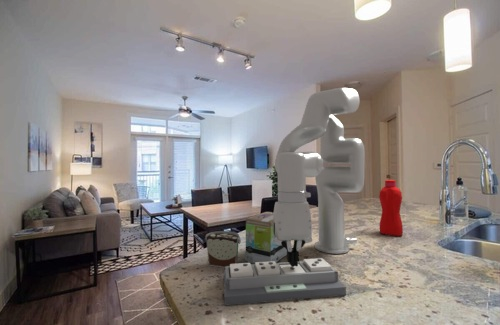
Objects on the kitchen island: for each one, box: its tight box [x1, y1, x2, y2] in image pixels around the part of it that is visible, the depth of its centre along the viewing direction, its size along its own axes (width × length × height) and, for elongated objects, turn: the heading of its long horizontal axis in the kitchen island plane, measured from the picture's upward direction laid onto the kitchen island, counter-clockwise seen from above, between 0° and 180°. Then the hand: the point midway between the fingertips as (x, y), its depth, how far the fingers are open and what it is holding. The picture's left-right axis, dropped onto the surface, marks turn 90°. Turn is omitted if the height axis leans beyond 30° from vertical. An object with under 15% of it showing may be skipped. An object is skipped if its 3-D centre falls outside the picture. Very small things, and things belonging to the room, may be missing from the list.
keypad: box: [222, 260, 347, 306], centre depth 65 cm, size 30×14×4 cm, turn 97°
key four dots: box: [255, 261, 280, 276], centre depth 64 cm, size 6×6×2 cm
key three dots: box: [303, 257, 332, 272], centre depth 66 cm, size 6×6×2 cm
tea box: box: [244, 211, 287, 264], centre depth 85 cm, size 15×10×15 cm, turn 148°
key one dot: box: [280, 264, 306, 274], centre depth 65 cm, size 6×6×2 cm
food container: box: [204, 230, 242, 268], centre depth 80 cm, size 12×6×10 cm, turn 71°
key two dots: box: [230, 262, 253, 278], centre depth 63 cm, size 6×6×2 cm
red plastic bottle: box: [378, 179, 404, 237], centre depth 113 cm, size 9×11×25 cm
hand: (293, 264), depth 66 cm, fingers closed
